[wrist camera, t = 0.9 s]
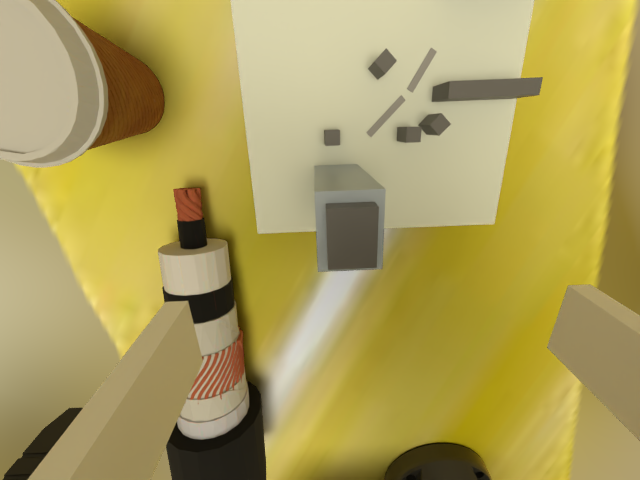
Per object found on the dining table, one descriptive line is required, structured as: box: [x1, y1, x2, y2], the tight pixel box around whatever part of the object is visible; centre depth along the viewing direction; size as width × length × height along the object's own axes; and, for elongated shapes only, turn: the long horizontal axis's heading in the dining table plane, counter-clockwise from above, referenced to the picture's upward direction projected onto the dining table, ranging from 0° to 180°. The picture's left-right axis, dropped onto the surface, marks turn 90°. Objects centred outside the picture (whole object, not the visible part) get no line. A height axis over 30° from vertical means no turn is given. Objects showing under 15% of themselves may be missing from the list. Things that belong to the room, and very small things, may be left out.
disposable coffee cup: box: [0, 0, 164, 167], centre depth 21 cm, size 10×10×12 cm
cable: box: [158, 188, 266, 480], centre depth 31 cm, size 10×34×10 cm, turn 1°
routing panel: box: [231, 0, 543, 234], centre depth 25 cm, size 20×24×4 cm
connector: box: [314, 164, 386, 272], centre depth 23 cm, size 5×4×13 cm
